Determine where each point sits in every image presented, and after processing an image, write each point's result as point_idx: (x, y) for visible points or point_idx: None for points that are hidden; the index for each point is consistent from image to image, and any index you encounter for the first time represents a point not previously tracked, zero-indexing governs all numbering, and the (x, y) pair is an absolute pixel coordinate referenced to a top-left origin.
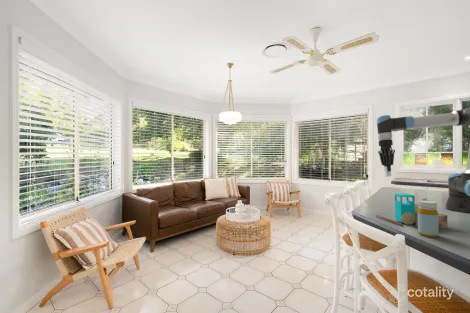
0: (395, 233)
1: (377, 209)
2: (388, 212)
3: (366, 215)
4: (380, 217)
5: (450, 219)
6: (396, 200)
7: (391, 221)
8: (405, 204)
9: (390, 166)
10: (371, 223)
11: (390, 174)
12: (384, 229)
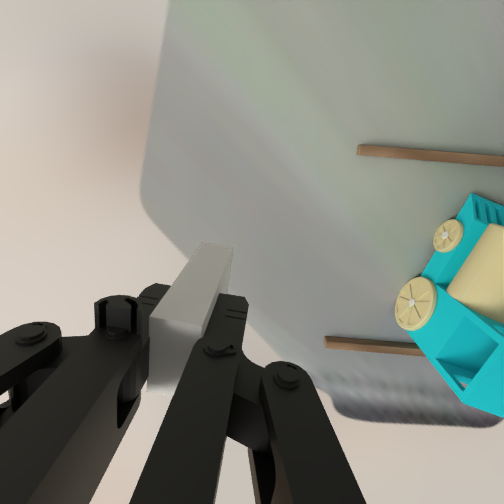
0: (498, 421)
1: (200, 231)
2: (270, 230)
3: (288, 357)
4: (352, 348)
5: (491, 44)
6: (457, 379)
7: (413, 353)
8: (487, 350)
9: (240, 350)
10: (387, 412)
11: (228, 263)
12: (455, 421)
